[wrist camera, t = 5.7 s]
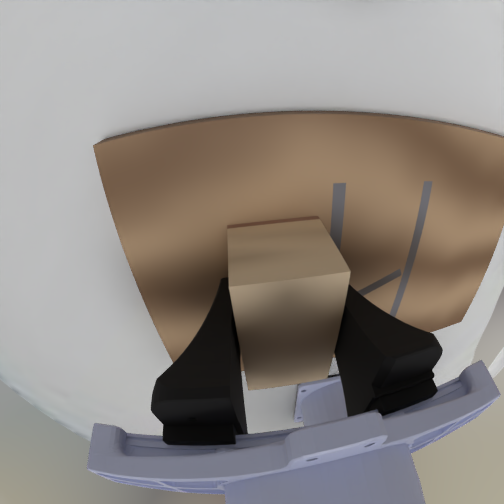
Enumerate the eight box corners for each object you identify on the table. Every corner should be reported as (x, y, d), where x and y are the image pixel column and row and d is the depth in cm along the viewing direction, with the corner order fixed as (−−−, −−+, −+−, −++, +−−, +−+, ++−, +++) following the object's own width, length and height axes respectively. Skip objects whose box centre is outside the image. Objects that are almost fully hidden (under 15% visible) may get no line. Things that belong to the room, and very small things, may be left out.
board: (454, 312, 20) (461, 321, 19) (180, 361, 19) (179, 374, 18) (510, 138, 11) (522, 144, 10) (104, 139, 10) (92, 145, 9)
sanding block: (310, 322, 16) (327, 378, 13) (243, 331, 16) (248, 390, 13) (317, 215, 12) (350, 271, 9) (227, 225, 12) (228, 286, 9)
